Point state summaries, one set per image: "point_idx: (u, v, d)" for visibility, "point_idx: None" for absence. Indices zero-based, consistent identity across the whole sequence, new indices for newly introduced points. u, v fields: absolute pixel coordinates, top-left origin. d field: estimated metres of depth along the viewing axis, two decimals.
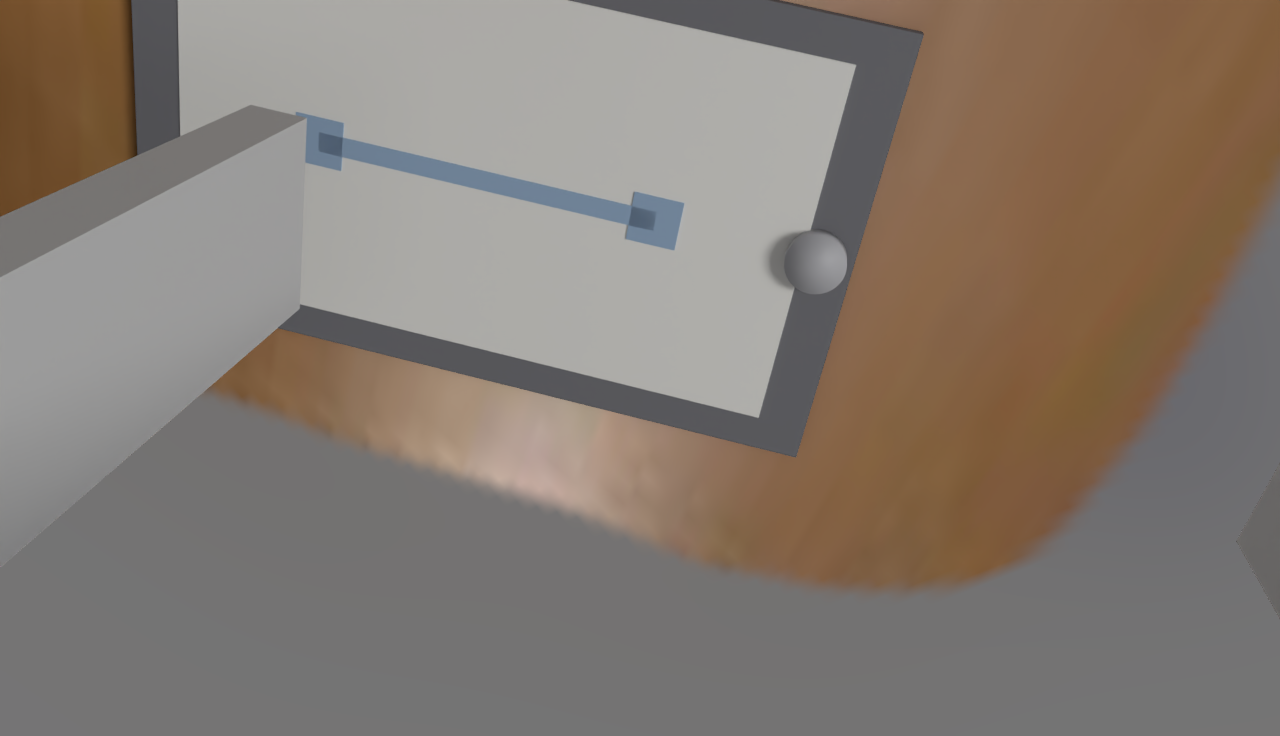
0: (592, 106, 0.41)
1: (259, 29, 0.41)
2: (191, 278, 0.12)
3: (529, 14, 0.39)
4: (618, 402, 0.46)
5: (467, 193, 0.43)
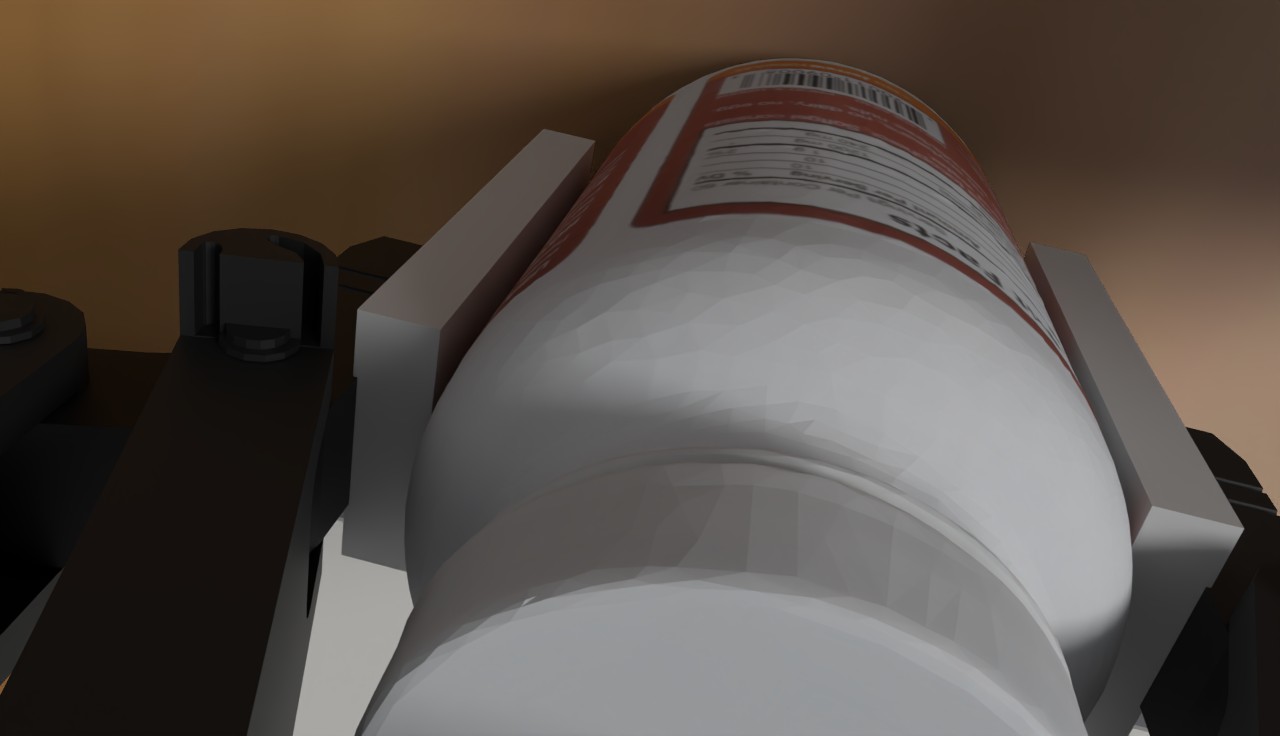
0: None
1: None
2: None
3: None
4: None
5: None
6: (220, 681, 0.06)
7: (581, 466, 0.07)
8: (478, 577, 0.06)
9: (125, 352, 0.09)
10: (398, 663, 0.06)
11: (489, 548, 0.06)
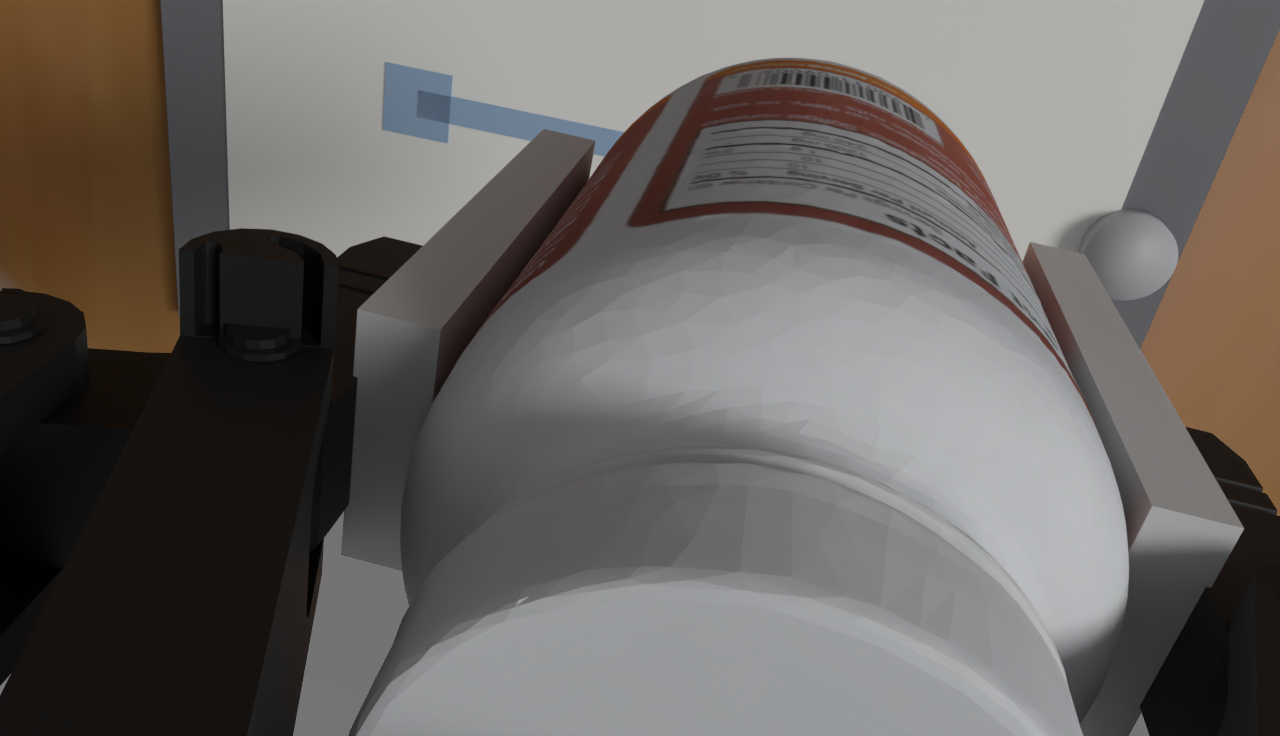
0: (811, 41, 0.29)
1: None
2: None
3: None
4: None
5: None
6: (222, 681, 0.06)
7: (577, 466, 0.07)
8: (472, 577, 0.06)
9: (125, 352, 0.09)
10: (392, 663, 0.06)
11: (484, 548, 0.06)
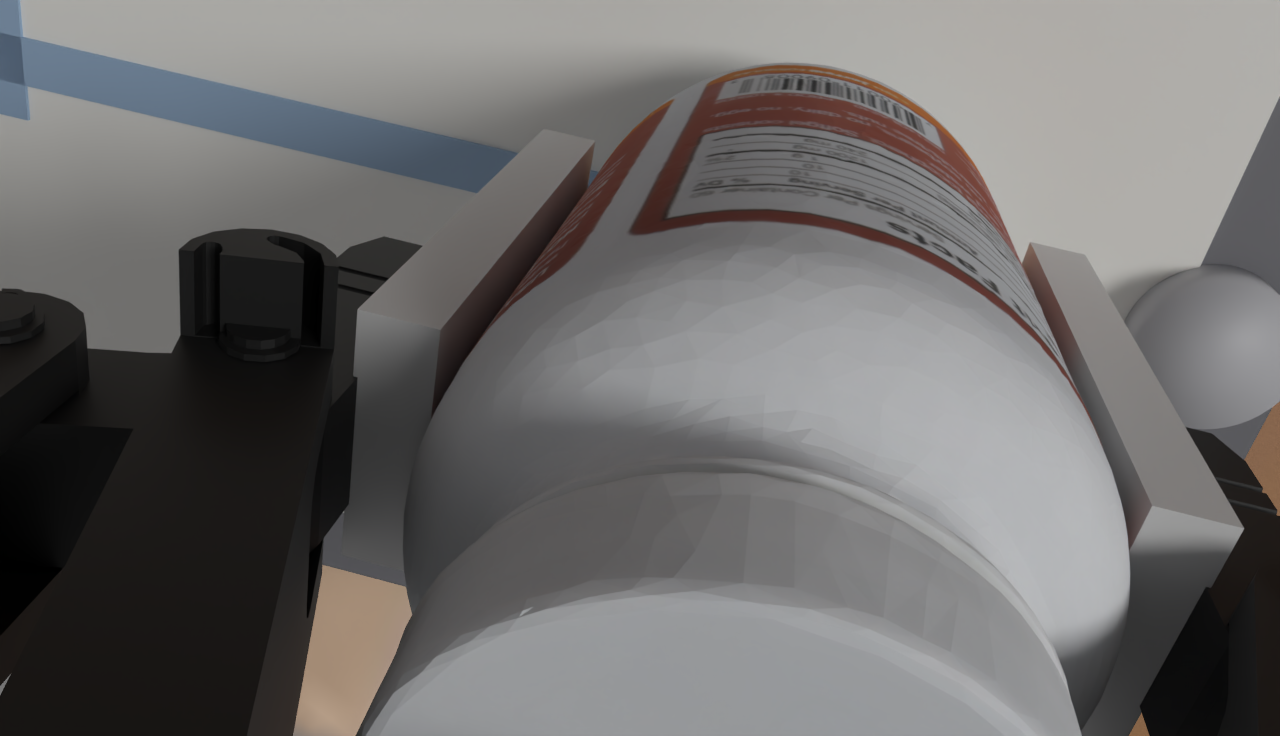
0: None
1: None
2: None
3: None
4: None
5: (327, 173, 0.18)
6: (222, 681, 0.06)
7: (579, 474, 0.07)
8: (476, 587, 0.06)
9: (125, 352, 0.09)
10: (396, 673, 0.06)
11: (486, 556, 0.06)
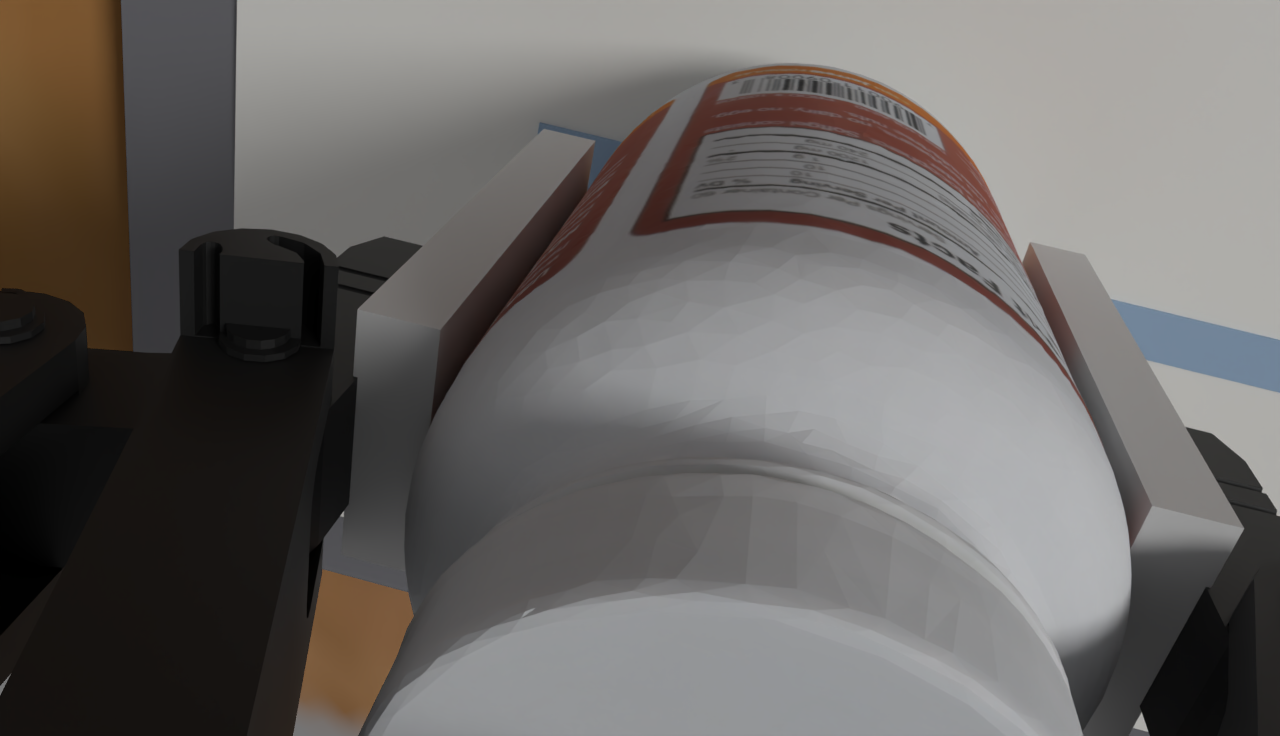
0: None
1: None
2: None
3: None
4: None
5: None
6: (222, 679, 0.06)
7: (581, 475, 0.07)
8: (478, 588, 0.06)
9: (125, 352, 0.09)
10: (398, 674, 0.06)
11: (489, 557, 0.06)
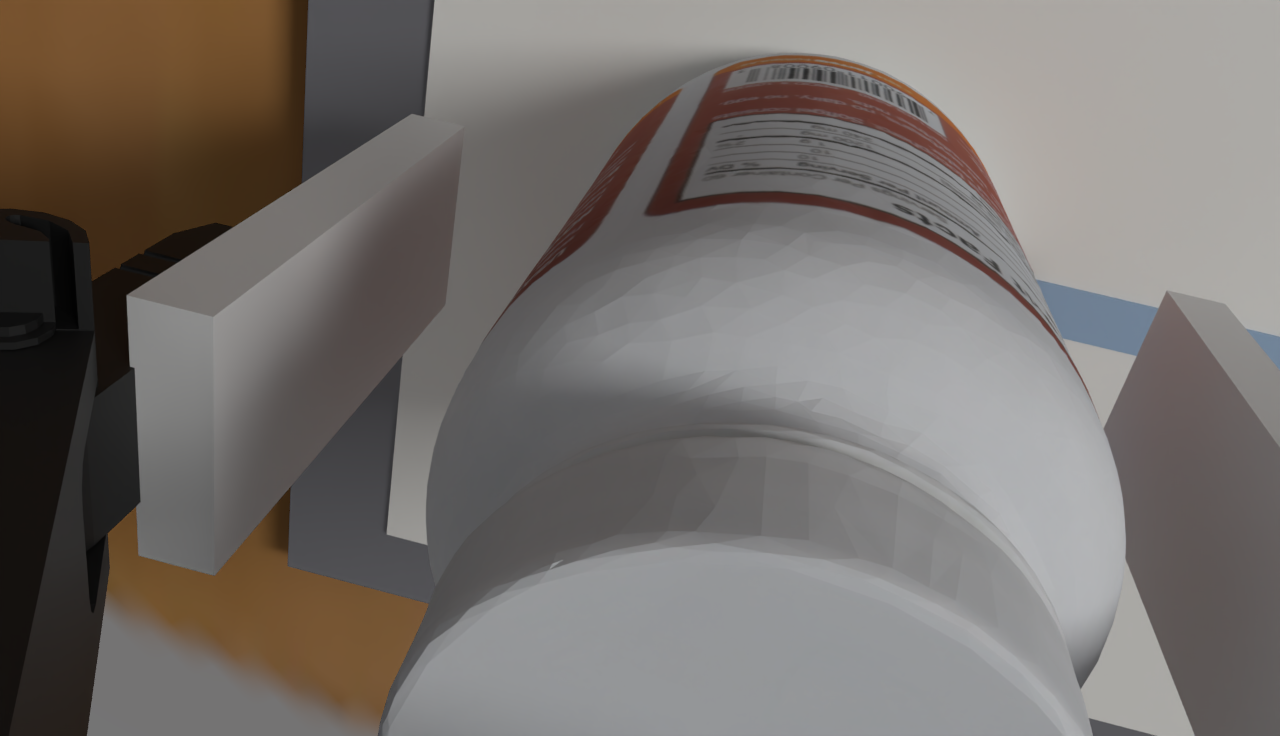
0: None
1: None
2: (381, 276, 0.12)
3: None
4: None
5: None
6: None
7: (600, 443, 0.08)
8: (506, 545, 0.07)
9: None
10: (431, 626, 0.06)
11: (516, 518, 0.07)
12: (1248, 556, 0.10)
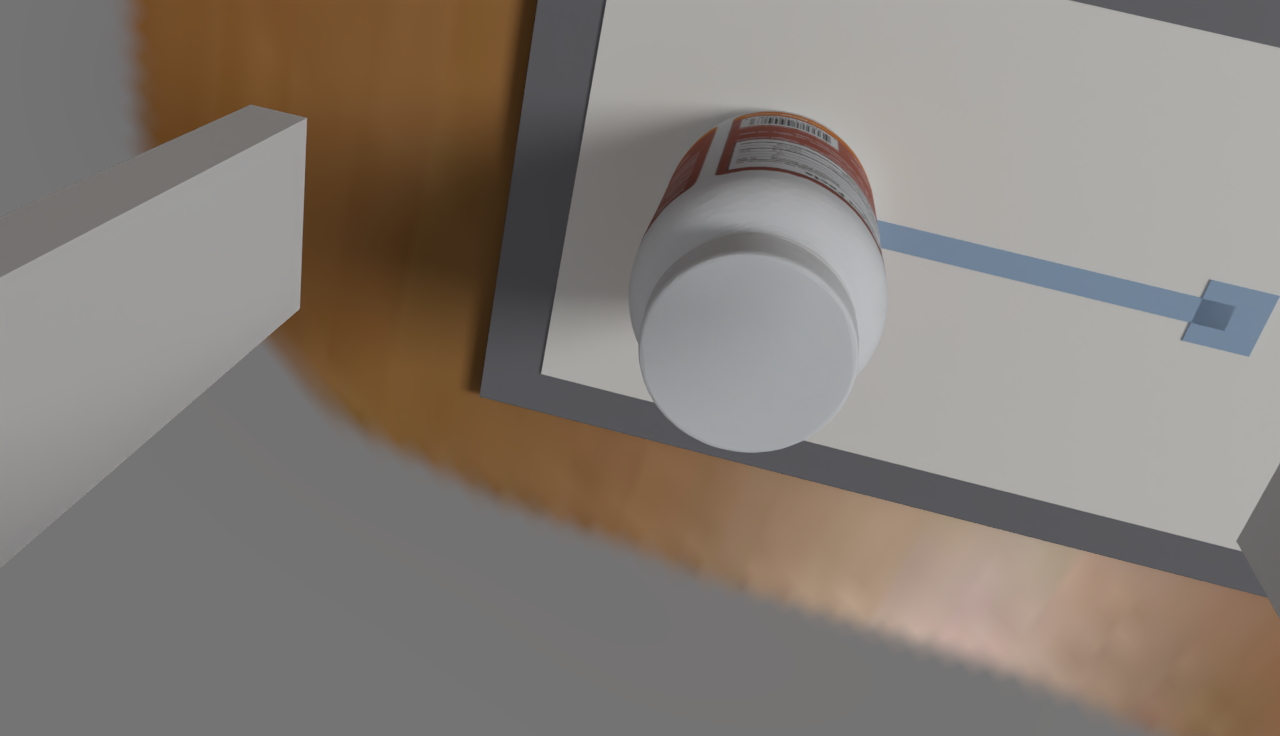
0: (1174, 167, 0.30)
1: (714, 57, 0.31)
2: (191, 278, 0.12)
3: (1114, 42, 0.29)
4: (1116, 545, 0.35)
5: (965, 277, 0.32)
6: None
7: None
8: (684, 264, 0.22)
9: None
10: (662, 286, 0.22)
11: (684, 259, 0.23)
12: None
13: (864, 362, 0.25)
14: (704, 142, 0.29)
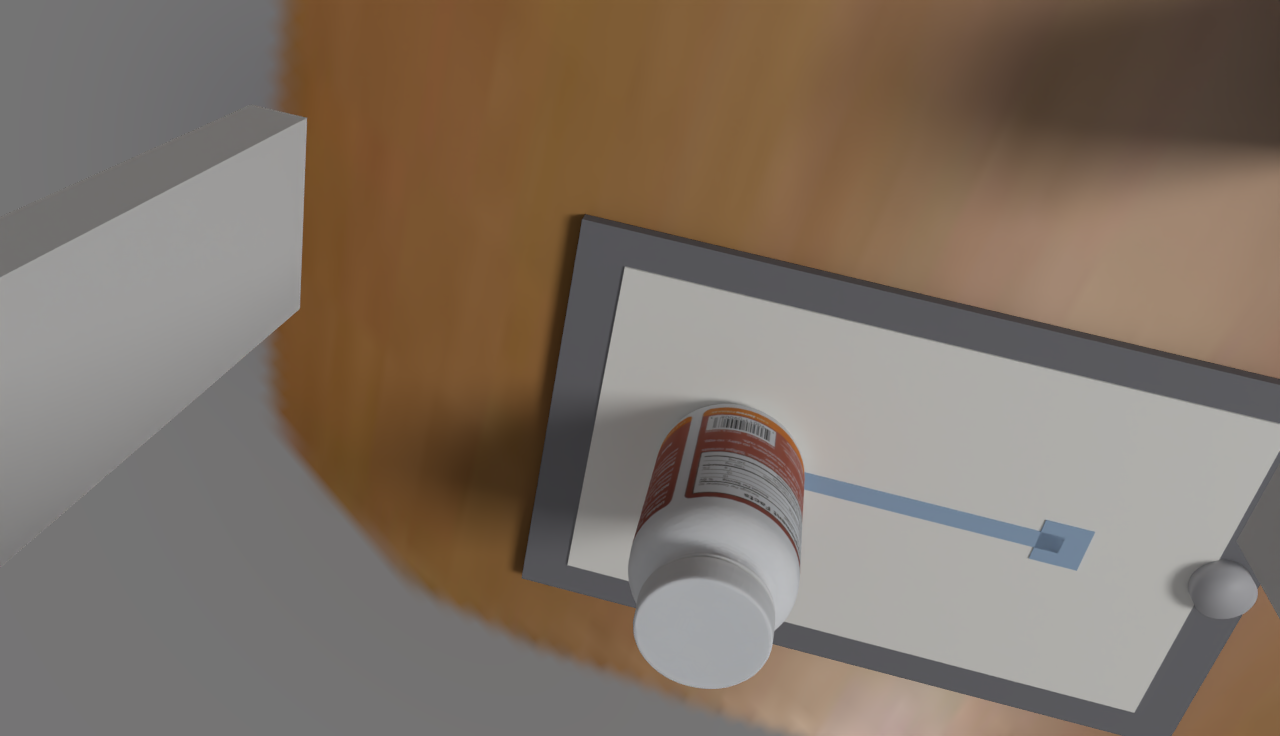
0: (1015, 447, 0.43)
1: (690, 366, 0.43)
2: (191, 278, 0.12)
3: (968, 369, 0.41)
4: (992, 692, 0.48)
5: (872, 511, 0.45)
6: None
7: (676, 554, 0.36)
8: (661, 577, 0.35)
9: None
10: (647, 592, 0.35)
11: (662, 572, 0.35)
12: None
13: (784, 619, 0.38)
14: (682, 436, 0.42)
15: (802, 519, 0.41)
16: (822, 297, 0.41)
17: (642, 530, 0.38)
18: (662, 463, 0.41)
